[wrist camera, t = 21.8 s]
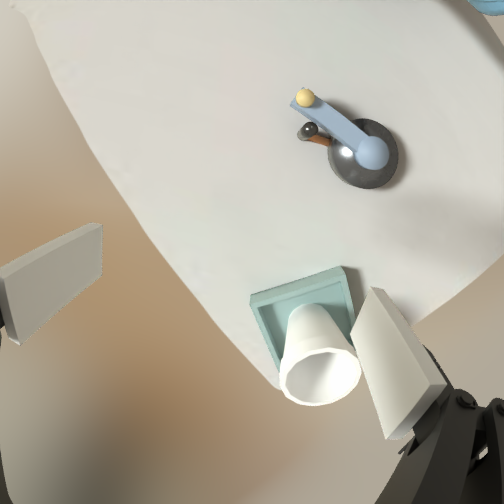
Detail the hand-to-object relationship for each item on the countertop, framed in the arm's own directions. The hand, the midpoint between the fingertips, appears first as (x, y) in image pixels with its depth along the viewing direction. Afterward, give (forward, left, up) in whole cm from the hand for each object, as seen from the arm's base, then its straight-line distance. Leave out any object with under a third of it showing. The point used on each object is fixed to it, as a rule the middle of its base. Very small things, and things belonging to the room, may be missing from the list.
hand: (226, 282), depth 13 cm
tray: (-2, +19, -26) cm, 32 cm away
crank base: (-14, -2, -26) cm, 30 cm away
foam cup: (-2, +19, -25) cm, 32 cm away
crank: (-13, -6, -22) cm, 27 cm away
